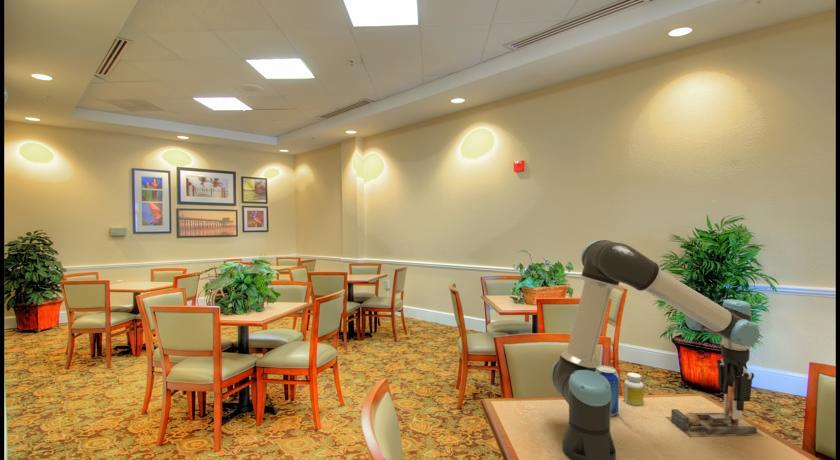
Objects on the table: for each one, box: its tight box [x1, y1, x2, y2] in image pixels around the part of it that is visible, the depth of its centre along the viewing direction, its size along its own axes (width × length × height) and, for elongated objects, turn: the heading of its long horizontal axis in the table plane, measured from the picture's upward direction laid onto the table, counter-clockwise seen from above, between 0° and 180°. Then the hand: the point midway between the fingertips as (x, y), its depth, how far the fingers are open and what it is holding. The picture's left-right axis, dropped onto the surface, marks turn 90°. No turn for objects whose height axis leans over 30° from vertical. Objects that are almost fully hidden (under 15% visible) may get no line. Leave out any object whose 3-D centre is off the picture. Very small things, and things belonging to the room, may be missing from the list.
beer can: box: [595, 365, 620, 418], centre depth 154 cm, size 8×8×16 cm
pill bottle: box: [623, 372, 645, 407], centre depth 159 cm, size 6×6×12 cm
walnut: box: [684, 412, 700, 426], centre depth 142 cm, size 4×4×4 cm
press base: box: [665, 408, 764, 438], centre depth 142 cm, size 24×13×6 cm, turn 92°
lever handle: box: [708, 384, 748, 427], centre depth 142 cm, size 10×7×13 cm
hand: (732, 415), depth 142 cm, fingers closed on lever handle, 3 cm apart
